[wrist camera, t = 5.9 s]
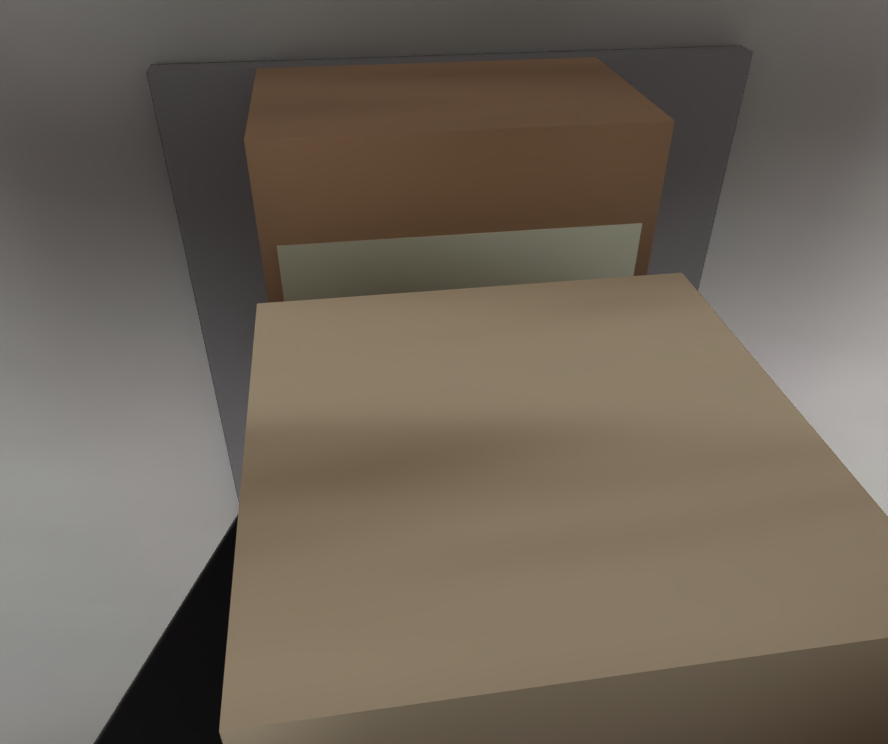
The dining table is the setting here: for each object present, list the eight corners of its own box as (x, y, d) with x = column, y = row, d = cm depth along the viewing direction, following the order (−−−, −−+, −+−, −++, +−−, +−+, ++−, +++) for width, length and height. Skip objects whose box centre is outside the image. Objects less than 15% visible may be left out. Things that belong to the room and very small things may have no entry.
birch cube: (623, 553, 12) (783, 916, 8) (303, 591, 11) (304, 1005, 7) (681, 272, 9) (978, 625, 5) (256, 303, 9) (217, 733, 5)
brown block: (550, 455, 16) (594, 568, 14) (311, 479, 16) (312, 601, 13) (595, 57, 11) (675, 120, 9) (256, 68, 11) (244, 141, 8)
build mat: (607, 649, 21) (612, 661, 21) (282, 693, 20) (282, 707, 20) (741, 45, 12) (753, 51, 12) (151, 65, 11) (146, 72, 11)
